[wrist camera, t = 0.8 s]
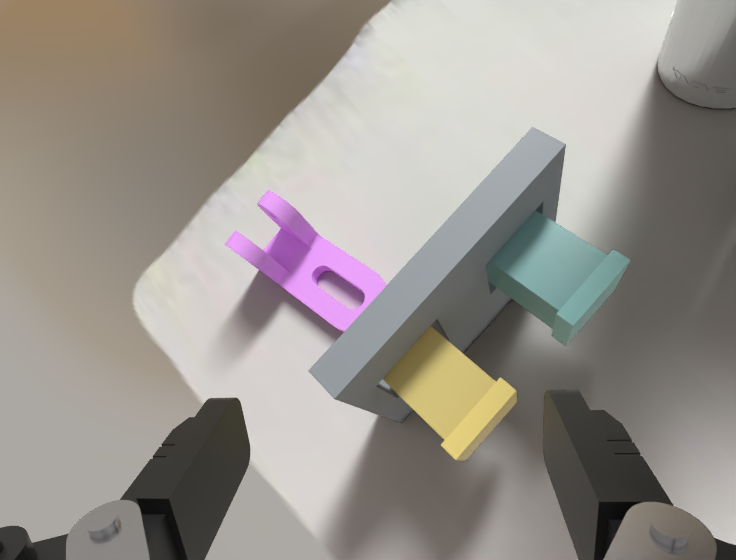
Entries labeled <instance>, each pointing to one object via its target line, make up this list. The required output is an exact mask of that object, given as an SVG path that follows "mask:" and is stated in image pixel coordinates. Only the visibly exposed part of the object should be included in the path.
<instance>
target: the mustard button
mask: <svg viewBox="0 0 736 560" xmlns="http://www.w3.org/2000/svg"><path fill="white" fill-rule="evenodd" d="M383 380H384V381H385V382H386V383H387V384H388V385H389V386H390V387H391V388H392V389H393V390H394V391H395V392H396V393H397V394H398V395H399V396H400V397H401V398H402V399H403V400H404V401H405V402H406V403H407V404H408V405H409V406H410V407H411V408H412V409H413V410H414V411H415V412H416V413H417V414H419V415H420V416H421V417H422V418H423V419H424V420H425V421H426V422H427V423H428V424H429V425H430V426H431V427H432V428H433V429H434V430H435V431H436V432H437V433H438V434H439V435H440V436H441V437H442V438H443V439H444V440H445V441H444V442H443V443H442V444H441V446H442V447H443V448H444V449H445V450H446V451H447V452H448V453H449V454H450V455H451V456H452V457H453V458H454V459H455V460H461V461H466V460H467V459H468V458H469V456H470V455H471V454H472V453H473V452H474V451H475V450H476V448H477V447H478V446H479V445H480V444H481V443H482V442H483V440H484V439H485V438H486V437H487V436H488V435H489V434H490V432H491V431H492V430H493V429H494V428H495V427H496V426H497V424H498V423H499V422H500V421H501V420H502V419H503V418H504V416H505V415H506V414H507V413H508V412H509V411H510V410H511V408H512V407H513V406H514V405H515V404H516V403H517V392H516V390H515V389H514V388H513V387H512V386H510V385H509V384H508V383H507V382H506V381H504V380H503V379H502V378H501V377H500V378H499V379H498V380H497V382H496V381H495V380H493V379H492V378H491V377H490V376H489V375H488V374H486V373H485V372H484V371H483V370H482V369H481V368H479V367H478V366H477V365H476V364H475V363H473V362H472V361H471V360H470V359H469V358H468V357H466V356H465V355H464V354H463V353H462V352H461V351H459V350H458V349H457V348H456V347H455V346H454V345H452V344H451V343H450V342H449V341H448V340H446V339H445V338H444V337H443V336H442V335H441V334H439V333H438V332H437V331H436V330H435V329H434V328H432V327H431V326H430V327H429V328H428V329H427V330H426V332H425V333H424V334H423V335H422V336H421V337H420V338H419V339H418V340H417V342H416V343H415V344H414V345H413V346H412V347H411V348H410V349H409V350H408V352H407V353H406V354H405V355H404V356H403V357H402V358H401V359H400V360H399V361H398V363H397V364H396V365H395V366H394V367H393V368H392V369H391V370H390V371H389V373H388V374H387V375H386V376H385V377H384V378H383Z"/></svg>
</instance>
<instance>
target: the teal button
mask: <svg viewBox="0 0 736 560" xmlns="http://www.w3.org/2000/svg"><path fill="white" fill-rule="evenodd" d="M630 261H631V259H629V258H627V257H626V256H624V255H622V254H621V253H619V252H617V251H616V250H614V249H613V250H612V251H611V252H610V253H609V254H608V255H607V254H605V253H604V252H602V251H601V250H599V249H597V248H596V247H594V246H593V245H591V244H589V243H588V242H586V241H584V240H583V239H581V238H580V237H578V236H576V235H575V234H573V233H571V232H570V231H568V230H567V229H565V228H563V227H562V226H560V225H558V224H557V223H555V222H554V221H552V220H550V219H549V218H547V217H546V216H544V215H542V214H541V213H539V212H537V211H536V210H535V211H534V212H533V213H532V214H531V215H530V217H529V218H528V219H527V220H526V221H525V222H524V223H523V224H522V225H521V226H520V228H519V229H518V230H517V231H516V232H515V233H514V234H513V235H512V236H511V238H510V239H509V240H508V241H507V242H506V243H505V244H504V245H503V246H502V247H501V249H500V250H499V251H498V252H497V253H496V254H495V255H494V256H493V257H492V259H491V260H490V261H489V262H488V263H487V264H486V265H485V268H486V273H487V279H488V282H490V283H491V284H493V285H494V286H495V287H497V288H498V289H499V290H501V291H502V292H503V293H505V294H506V295H507V296H509V297H510V298H511V299H513V300H514V301H516V302H517V303H518V304H520V305H521V306H522V307H524V308H525V309H526V310H528V311H529V312H530V313H532V314H533V315H535V316H536V317H537V318H539V319H540V320H541V321H543V322H544V323H545V324H547V325H548V326H549V327H551V328H552V329H553V331H552V336H553V337H554V338H555V339H557V340H558V341H559V342H561V343H562V344H563V345H565V346H566V345H567V344H568V343H569V342H570V341H571V340H572V339H573V337H574V336H575V335H576V334H577V333H578V332H579V331H580V329H581V328H582V327H583V326H584V325H585V324H586V323H587V321H588V320H589V319H590V318H591V317H592V316H593V315H594V313H595V312H596V311H597V310H598V309H599V308H600V307H601V305H602V304H603V303H604V302H605V301H606V300H607V299H608V297H609V296H610V295H611V294H612V293H613V292H614V291H615V289H616V287H617V286H618V284H619V282H620V280H621V278H622V276H623V274H624V272H625V270H626V268H627V266H628V265H629V263H630Z"/></svg>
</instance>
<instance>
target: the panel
mask: <svg viewBox="0 0 736 560" xmlns="http://www.w3.org/2000/svg"><path fill="white" fill-rule="evenodd" d="M565 147H566V144H564V143H562V142H561V141H559V140H557V139H555V138H553V137H551V136H549V135H547V134H545V133H543V132H541V131H539V130H538V129H536V128H534V127H532V128H531V129H530V130H529V131H528V132H527V133H526V135H525V136H524V137H523V138H522V139H521V140H520V141H519V142H518V143H517V144H516V145H515V147H514V148H513V149H512V150H511V151H510V152H509V153H508V154H507V155H506V156H505V157H504V159H503V160H502V161H501V162H500V163H499V164H498V165H497V166H496V167H495V168H494V169H493V170H492V172H491V173H490V174H489V175H488V176H487V177H486V178H485V179H484V180H483V181H482V182H481V184H480V185H479V186H478V187H477V188H476V189H475V190H474V191H473V192H472V193H471V194H470V195H469V197H468V198H467V199H466V200H465V201H464V202H463V203H462V204H461V205H460V206H459V207H458V209H457V210H456V211H455V212H454V213H453V214H452V215H451V216H450V217H449V218H448V219H447V221H446V222H445V223H444V224H443V225H442V226H441V227H440V228H439V229H438V230H437V231H436V232H435V234H434V235H433V236H432V237H431V238H430V239H429V240H428V241H427V242H426V243H425V244H424V246H423V247H422V248H421V249H420V250H419V251H418V252H417V253H416V254H415V255H414V256H413V258H412V259H411V260H410V261H409V262H408V263H407V264H406V265H405V266H404V267H403V268H402V269H401V271H400V272H399V273H398V274H397V275H396V276H395V277H394V278H393V279H392V280H391V281H390V283H389V284H388V285H387V286H386V287H385V288H384V289H383V290H382V291H381V292H380V293H379V294H378V296H377V297H376V298H375V299H374V300H373V301H372V302H371V303H370V304H369V305H368V306H367V308H366V309H365V310H364V311H363V312H362V313H361V314H360V315H359V316H358V317H357V318H356V320H355V321H354V322H353V323H352V324H351V325H350V326H349V327H348V328H347V329H346V330H345V331H344V333H343V334H342V335H341V336H340V337H339V338H338V339H337V340H336V341H335V342H334V343H333V345H332V346H331V347H330V348H329V349H328V350H327V351H326V352H325V353H324V354H323V355H322V357H321V358H320V359H319V360H318V361H317V362H316V363H315V364H314V365H313V366H312V367H311V368H310V370H309V372H310V373H311V374H312V375H313V376H314V378H315V379H316V380H317V381H318V382H319V383H320V384H321V385H322V386H323V387H324V388H325V389H326V391H327V392H328V393H329V394H330V395H331V396H332V397H333V398H334V399H336V400H339V401H341V402H344V403H347V404H350V405H353V406H355V407H358V408H361V409H364V410H367V411H369V412H372V413H375V414H378V415H381V416H383V417H386V418H389V419H392V420H395V421H397V422H400V423H402V422H403V421H404V420H405V419H406V417H407V416H408V415H409V414H410V413H411V412H412V411H413V409H412V408H411V407H410V406H409V405H408V404H407V403H406V402H405V401H404V400H403V399H402V398H401V397H400V396H399V395H398V394H397V393H396V392H395V391H394V390H393V389H392V388H391V387H390V386H389V385H388V384H387V383H386V382H385V381H384V380H383V378H384V377H385V376H386V375H387V374H388V373H389V371H390V370H391V369H392V368H393V367H394V366H395V365H396V364H397V363H398V361H399V360H400V359H401V358H402V357H403V356H404V355H405V354H406V353H407V352H408V350H409V349H410V348H411V347H412V346H413V345H414V344H415V343H416V342H417V340H418V339H419V338H420V337H421V336H422V335H423V334H424V333H425V332H426V330H427V329H428V328H429V327H430V326H431V327H432V328H434V329H435V330H436V331H437V332H438V333H439V334H441V335H442V336H443V337H444V338H445V339H446V340H448V341H449V342H450V343H451V344H452V345H454V346H455V347H456V348H457V349H458V350H459V351H461V352H462V353H463V354H464V352H465V351H466V350H467V349H468V348H469V347H470V346H471V345H472V343H473V342H474V341H475V340H476V339H477V338H478V337H479V336H480V334H481V333H482V332H483V331H484V330H485V329H486V328H487V327H488V326H489V324H490V323H491V322H492V321H493V320H494V319H495V318H496V317H497V315H498V314H499V313H500V312H501V311H502V310H503V309H504V308H505V306H506V305H507V304H508V303H509V302H510V301H511V300H512V299H511V298H510V297H509V296H507V295H506V294H505V293H503V292H502V291H501V290H499V289H498V288H497V287H495V286H494V285H493V284H491V283H490V282H488V279H487V273H486V268H485V265H486V264H487V263H488V262H489V261H490V260H491V259H492V257H493V256H494V255H495V254H496V253H497V252H498V251H499V250H500V249H501V247H502V246H503V245H504V244H505V243H506V242H507V241H508V240H509V239H510V238H511V236H512V235H513V234H514V233H515V232H516V231H517V230H518V229H519V228H520V226H521V225H522V224H523V223H524V222H525V221H526V220H527V219H528V218H529V217H530V215H531V214H532V213H533V212H534V211H535V210H536V211H537V212H539V213H541V214H542V215H544V216H546V217H547V218H549V219H550V220H552V221H554V222H556V214H557V207H558V199H559V192H560V184H561V177H562V169H563V162H564V155H565Z"/></svg>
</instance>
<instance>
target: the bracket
mask: <svg viewBox="0 0 736 560" xmlns="http://www.w3.org/2000/svg"><path fill="white" fill-rule="evenodd" d="M257 205H258V206H259V207H260V208H261V209H262V210H263V211H264V212H265V213H266V214H267V215H268V216H269V217H270V218H271V219H272V220H273V221H274V222H275V223H276V224H277V225H278V226H279V227H280V228H281V229H280V230H279V231H278V233H277V234H276V235H275V236H274V238H273V239H272V240H271V242H270V243H269V244H268V245H267V247H266V248H265V249H264V250H262V249H260V248H259V247H258V246H257V245H255V244H254V243H253V242H251V241H250V240H249V239H247V238H246V237H245V236H243V235H242V234H240V233H239V232H238V231H236V230H235V232H234V233H233V234H232V235H231V237H230V238H229V239H228V240H227V242H226V243H225V245H227V246H228V247H229V248H231V249H232V250H233V251H235V252H236V253H237V254H239V255H240V256H241V257H243V258H244V259H245V260H247V261H248V262H249V263H251V264H252V265H253V266H255V267H256V268H257V269H259V270H260V271H261V272H263V273H264V274H265V275H267V276H268V277H269V278H271V279H272V280H273V281H275V282H276V283H277V284H279V285H280V286H281V287H283V288H284V289H285V290H287V291H288V292H289V293H291V294H292V295H293V296H295V297H296V298H297V299H299V300H300V301H301V302H303V303H304V304H305V305H307V306H308V307H309V308H310V309H312V310H313V311H314V312H316V313H317V314H318V315H320V316H321V317H322V318H324V319H325V320H326V321H328V322H329V323H330V324H332V325H333V326H334V327H336V328H337V329H338V330H340V331H341V332H343V333H344V331H345V330H346V329H347V328H348V327H349V326H350V325H351V324H352V323H353V322H354V321H355V320H356V318H357V317H358V316H359V315H360V314H361V313H362V312H363V311H364V310H365V309H366V308H367V306H368V305H369V304H370V303H371V302H372V301H373V300H374V299H375V298H376V297H377V296H378V294H379V293H380V292H381V291H382V290H383V289H384V288H385V287H386V286H387V285H386V283H385V282H384V280H383V279H382V278H381V277H380V275H379V274H378V273H376V272H375V271H374V270H372V269H370V268H369V267H367V266H366V265H364V264H363V263H361V262H360V261H358V260H357V259H355V258H354V257H352V256H350V255H349V254H347V253H346V252H344V251H343V250H341V249H340V248H338V247H337V246H335V245H334V244H332V243H331V242H329V241H327V240H326V239H324V238H323V237H321V236H320V235H319V234H318V233H317V232H316V231H315V230H314V229H313V228H312V227H311V225H310V224H309V223H308V222H307V221H306V220H305V219H304V218H303V216H302V215H301V214H300V213H299V212H298V211H297V210H296V209H295V208H294V207H292V206H291V205H290V204H289V203H288V202H286V201H285V200H284V199H282V198H281V197H280V196H278V195H277V194H275V193H274V192H272V191H270V190H268V191H267V192H266V193H265V195H264V196H263V197H262V198H261V199H260V201H259V202H258V203H257ZM325 271H332V272H334V273H335V274H337V275H338V276H340V277H341V278H343V279H344V280H346V281H347V282H349V283H350V284H351V285H353V286H354V287H356V288H357V289H359V290H360V291H362V292H363V293H364V294H365V300H364V302H363V304H362V305H361V306H360V307H358V308H356V309H349V308H347V307H346V306H345V305H343V304H342V303H340V302H339V301H338V300H336V299H335V298H333V297H332V296H331V295H329V294H328V293H327V292H325V291H324V290H322V289H321V288H320V287H318V284H317V280H318V277H319V276H320V275H321V274H322V273H323V272H325Z"/></svg>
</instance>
